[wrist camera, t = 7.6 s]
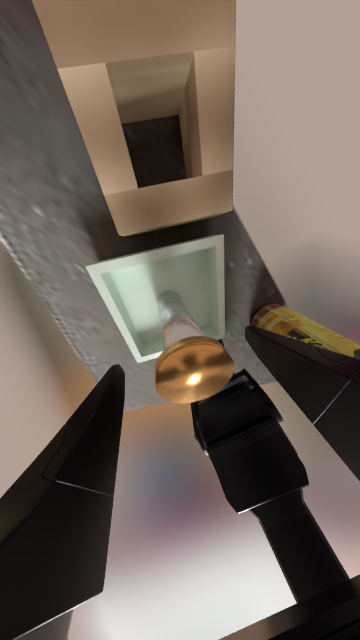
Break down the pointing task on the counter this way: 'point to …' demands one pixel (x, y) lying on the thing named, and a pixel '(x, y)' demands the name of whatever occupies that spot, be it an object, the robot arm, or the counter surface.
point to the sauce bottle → (302, 329)
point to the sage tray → (163, 290)
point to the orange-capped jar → (188, 356)
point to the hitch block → (150, 97)
